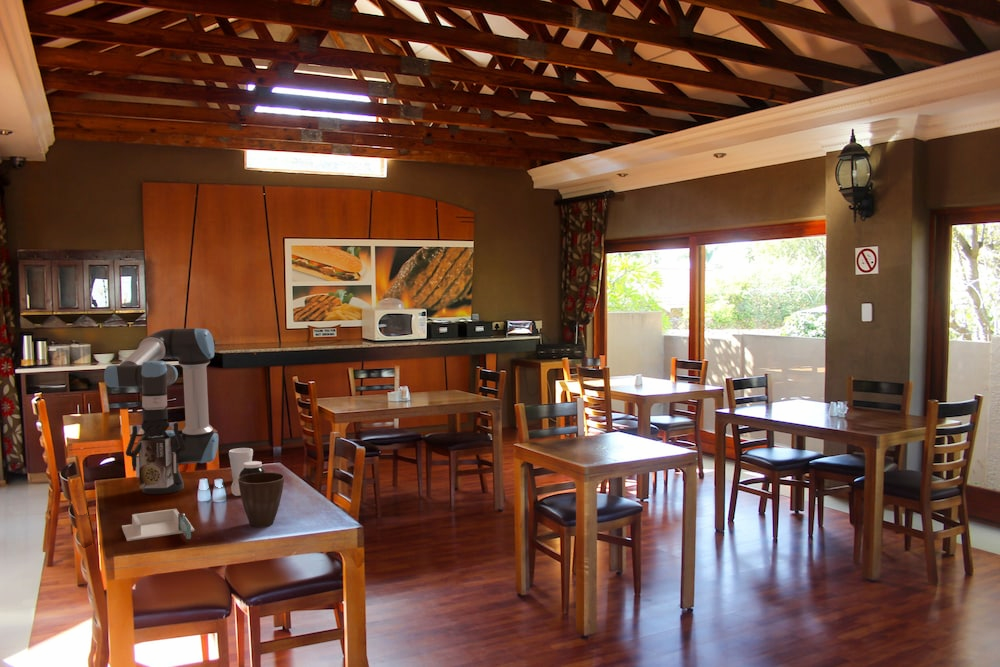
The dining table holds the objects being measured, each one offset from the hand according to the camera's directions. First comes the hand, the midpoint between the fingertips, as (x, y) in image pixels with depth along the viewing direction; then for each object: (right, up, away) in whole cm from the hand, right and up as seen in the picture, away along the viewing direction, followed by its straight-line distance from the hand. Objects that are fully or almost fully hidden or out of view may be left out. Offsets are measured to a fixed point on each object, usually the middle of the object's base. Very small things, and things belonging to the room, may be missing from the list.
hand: (156, 474), depth 254 cm
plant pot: (+33, -18, +6) cm, 38 cm away
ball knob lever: (+13, -18, -8) cm, 23 cm away
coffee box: (0, -4, 0) cm, 4 cm away
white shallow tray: (+1, -18, 0) cm, 18 cm away
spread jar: (+16, -16, +47) cm, 52 cm away
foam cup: (+6, -15, +66) cm, 68 cm away
